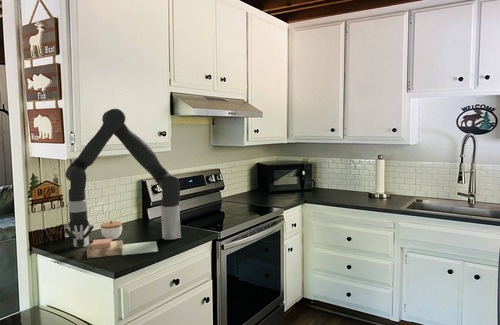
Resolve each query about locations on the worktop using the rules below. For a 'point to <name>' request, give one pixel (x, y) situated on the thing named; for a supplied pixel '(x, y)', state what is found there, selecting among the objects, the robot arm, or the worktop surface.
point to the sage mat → (139, 248)
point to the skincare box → (86, 240)
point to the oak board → (106, 250)
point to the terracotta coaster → (101, 243)
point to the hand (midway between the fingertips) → (80, 246)
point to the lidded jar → (111, 229)
